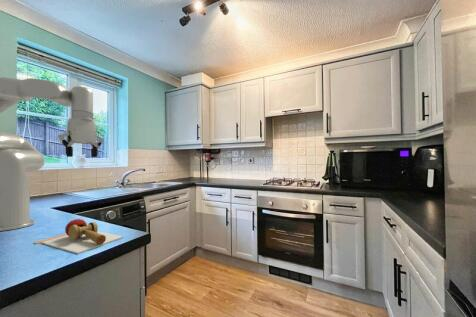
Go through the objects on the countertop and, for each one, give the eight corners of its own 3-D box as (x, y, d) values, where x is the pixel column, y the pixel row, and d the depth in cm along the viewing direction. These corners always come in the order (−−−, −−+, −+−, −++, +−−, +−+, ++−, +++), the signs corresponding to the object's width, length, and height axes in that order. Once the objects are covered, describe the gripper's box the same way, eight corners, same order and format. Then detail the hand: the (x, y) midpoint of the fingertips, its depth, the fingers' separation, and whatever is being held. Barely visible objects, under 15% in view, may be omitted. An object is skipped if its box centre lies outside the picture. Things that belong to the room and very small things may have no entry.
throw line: (33, 243, 69) (33, 242, 69) (86, 228, 83) (86, 228, 83) (36, 244, 68) (36, 243, 68) (89, 229, 83) (89, 228, 83)
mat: (41, 243, 69) (41, 242, 69) (87, 230, 81) (87, 229, 81) (78, 254, 60) (78, 252, 60) (123, 237, 73) (123, 236, 73)
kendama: (115, 243, 70) (85, 228, 79) (113, 225, 69) (83, 212, 77) (89, 256, 63) (60, 238, 72) (87, 237, 62) (57, 221, 71)
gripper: (97, 121, 101) (97, 157, 101) (53, 113, 85) (53, 156, 85) (107, 119, 98) (107, 157, 98) (63, 111, 82) (63, 156, 82)
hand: (82, 156), depth 91 cm, fingers open, 9 cm apart
